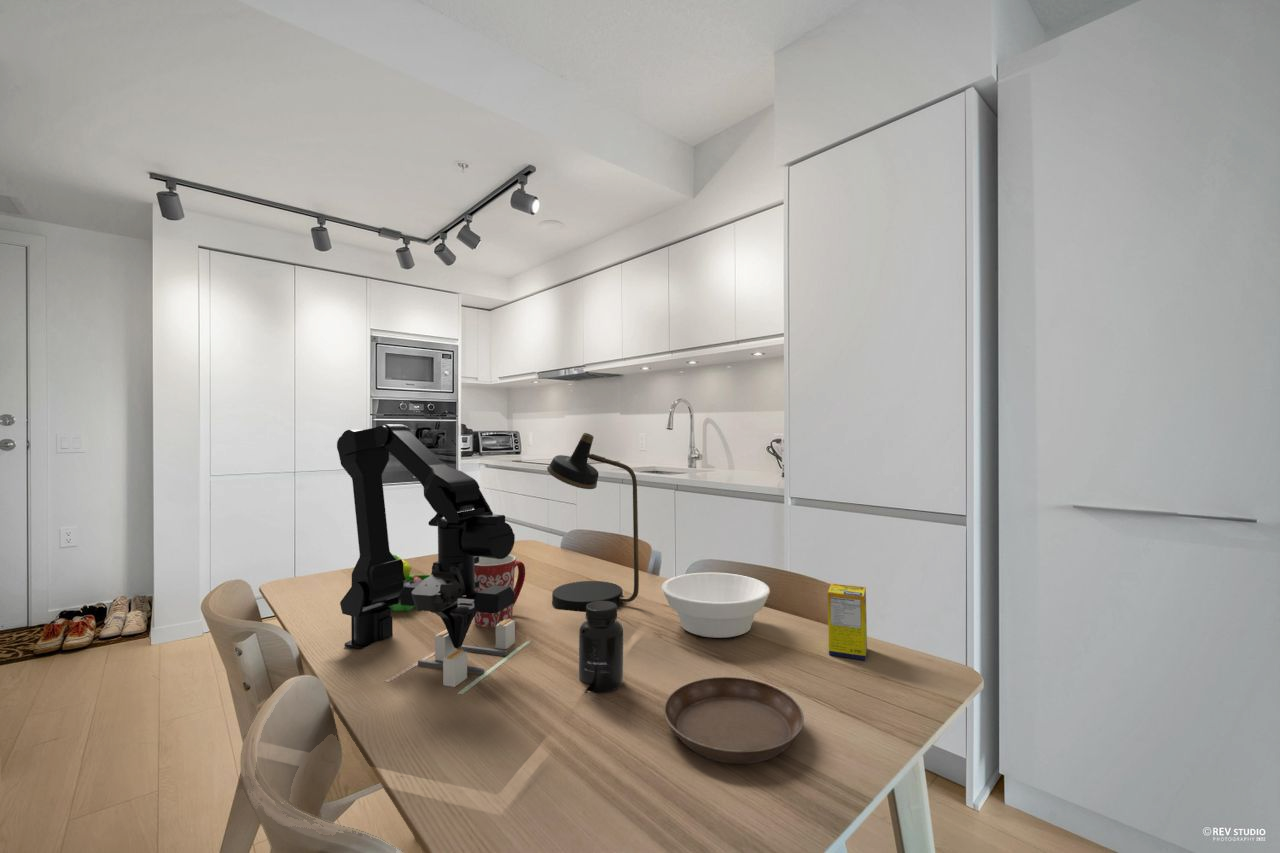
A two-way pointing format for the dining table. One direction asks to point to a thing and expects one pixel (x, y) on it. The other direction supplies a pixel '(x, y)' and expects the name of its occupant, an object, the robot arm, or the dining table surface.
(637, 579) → the lamp
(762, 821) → the dining table surface
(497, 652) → the panel
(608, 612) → the supplement bottle
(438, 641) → the block
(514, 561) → the mug
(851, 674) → the dining table surface
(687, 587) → the bowl
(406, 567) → the fruit basket
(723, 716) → the plant saucer
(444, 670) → the block
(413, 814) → the dining table surface
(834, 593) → the supplement box
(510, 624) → the block
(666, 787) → the dining table surface
